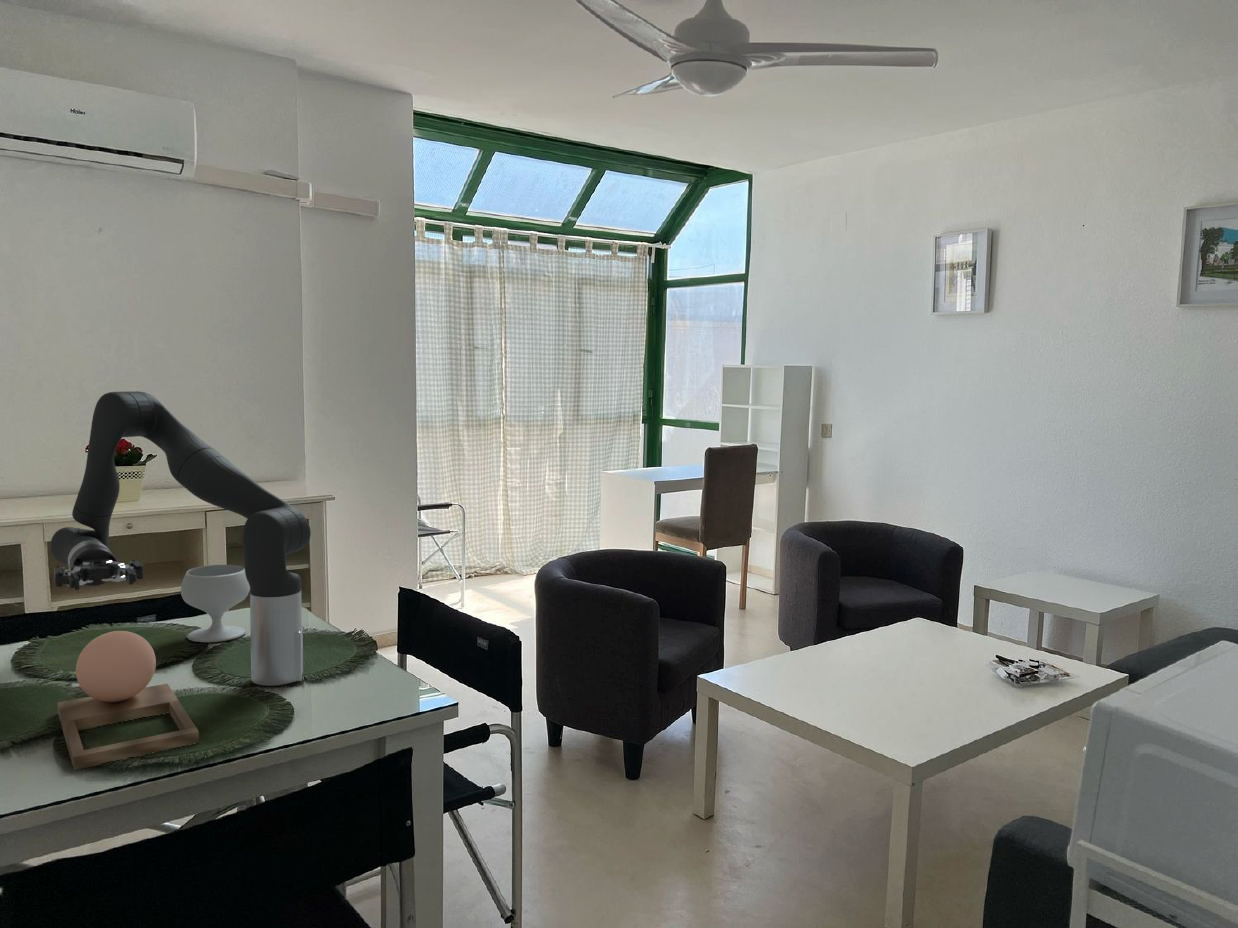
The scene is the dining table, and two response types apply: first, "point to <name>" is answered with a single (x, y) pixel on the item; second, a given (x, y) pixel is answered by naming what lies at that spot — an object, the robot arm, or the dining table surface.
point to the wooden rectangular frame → (101, 713)
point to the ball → (115, 666)
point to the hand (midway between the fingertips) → (104, 581)
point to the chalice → (215, 598)
